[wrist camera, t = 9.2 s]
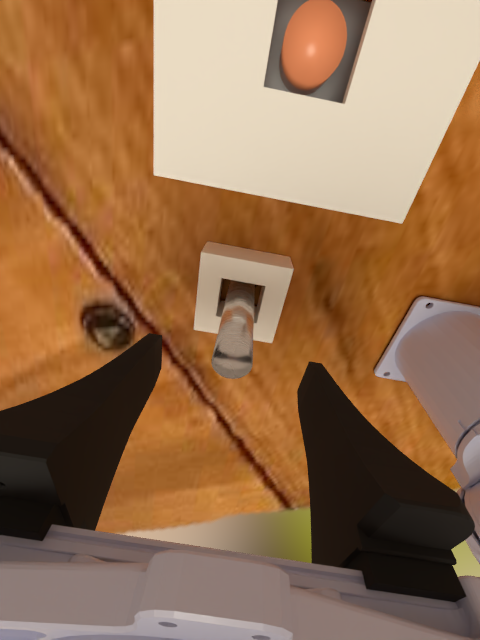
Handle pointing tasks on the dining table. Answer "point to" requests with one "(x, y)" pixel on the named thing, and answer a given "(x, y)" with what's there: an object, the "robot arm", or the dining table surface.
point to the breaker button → (315, 46)
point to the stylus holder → (243, 268)
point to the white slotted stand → (309, 104)
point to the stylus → (235, 332)
